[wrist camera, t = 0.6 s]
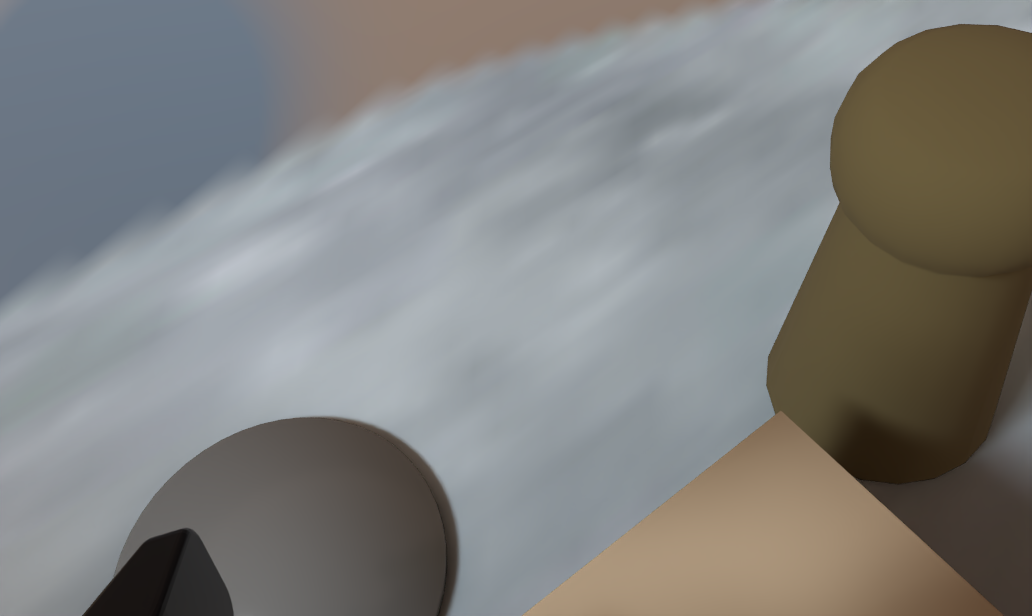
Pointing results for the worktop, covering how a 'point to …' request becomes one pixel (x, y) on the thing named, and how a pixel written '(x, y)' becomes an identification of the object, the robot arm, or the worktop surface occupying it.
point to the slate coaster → (308, 522)
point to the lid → (768, 547)
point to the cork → (917, 258)
